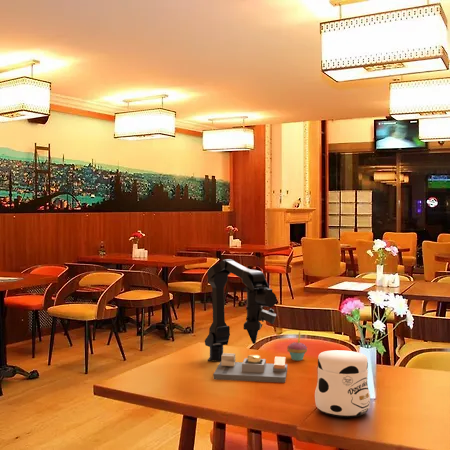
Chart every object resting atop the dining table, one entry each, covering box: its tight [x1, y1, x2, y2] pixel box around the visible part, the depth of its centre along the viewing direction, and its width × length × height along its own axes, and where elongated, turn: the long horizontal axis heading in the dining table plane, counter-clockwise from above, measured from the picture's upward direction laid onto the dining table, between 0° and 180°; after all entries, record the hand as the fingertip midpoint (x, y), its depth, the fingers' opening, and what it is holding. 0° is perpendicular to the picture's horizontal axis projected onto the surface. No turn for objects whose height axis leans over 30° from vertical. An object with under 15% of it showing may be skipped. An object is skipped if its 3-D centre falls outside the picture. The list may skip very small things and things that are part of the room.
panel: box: [212, 357, 288, 384], centre depth 228 cm, size 18×27×5 cm, turn 81°
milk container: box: [314, 349, 371, 419], centre depth 187 cm, size 17×17×18 cm
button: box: [247, 354, 262, 364], centre depth 228 cm, size 5×5×3 cm
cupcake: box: [286, 331, 308, 362], centre depth 250 cm, size 9×8×12 cm
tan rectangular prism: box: [220, 352, 236, 366], centre depth 233 cm, size 4×5×4 cm
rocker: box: [273, 356, 286, 369], centre depth 227 cm, size 7×4×1 cm, turn 171°
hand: (254, 343), depth 228 cm, fingers closed
